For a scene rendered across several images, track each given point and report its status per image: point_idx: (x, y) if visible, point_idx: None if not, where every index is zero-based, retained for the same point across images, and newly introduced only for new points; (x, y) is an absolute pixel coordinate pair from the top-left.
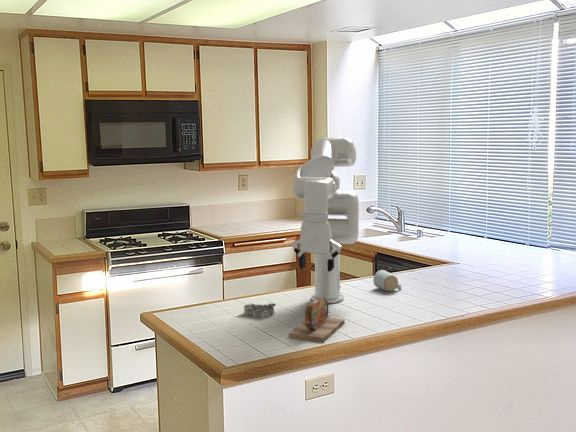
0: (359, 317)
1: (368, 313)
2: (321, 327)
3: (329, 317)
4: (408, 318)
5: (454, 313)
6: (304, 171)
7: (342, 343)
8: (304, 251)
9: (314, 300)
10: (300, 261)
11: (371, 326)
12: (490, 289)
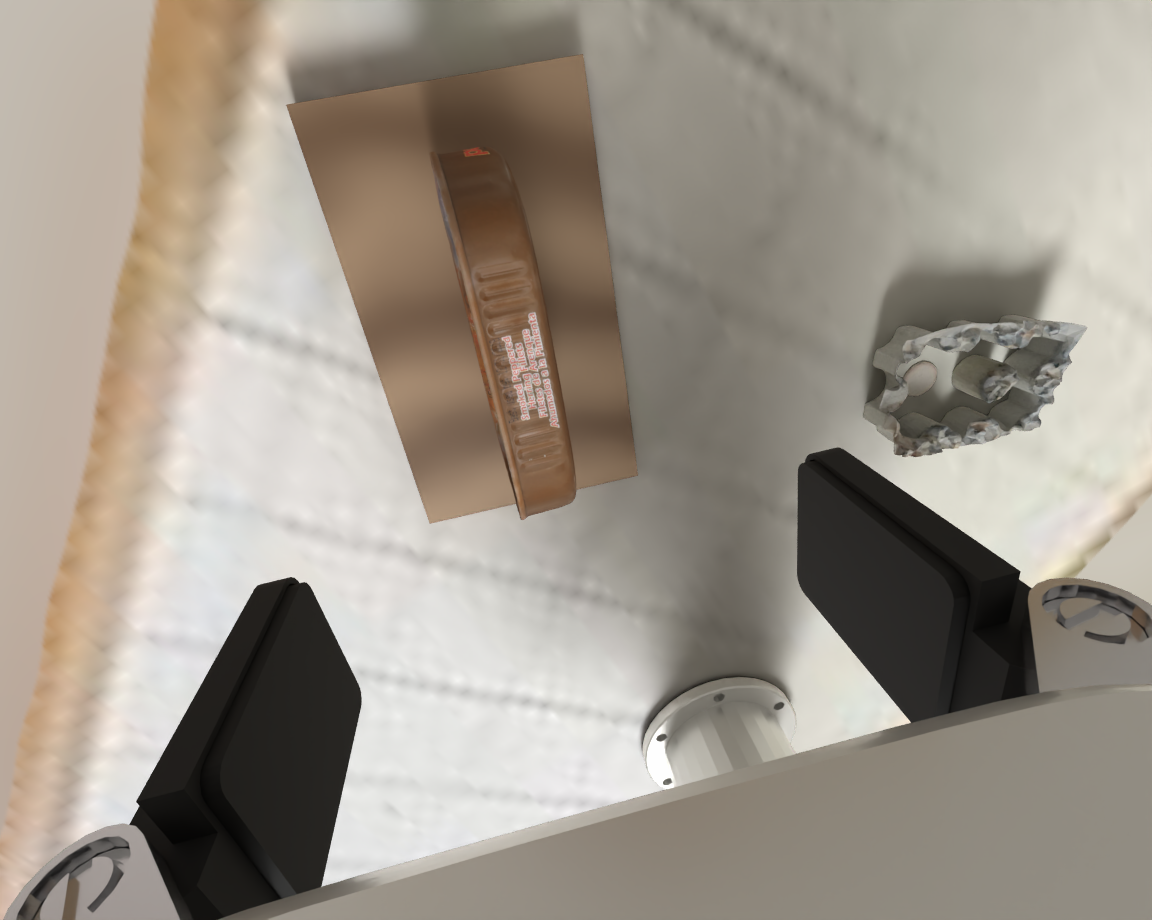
0: (428, 627)
1: (429, 694)
2: (452, 311)
3: None
4: None
5: None
6: None
7: (170, 168)
8: (1069, 711)
9: (559, 408)
10: (924, 516)
11: (271, 554)
12: None
